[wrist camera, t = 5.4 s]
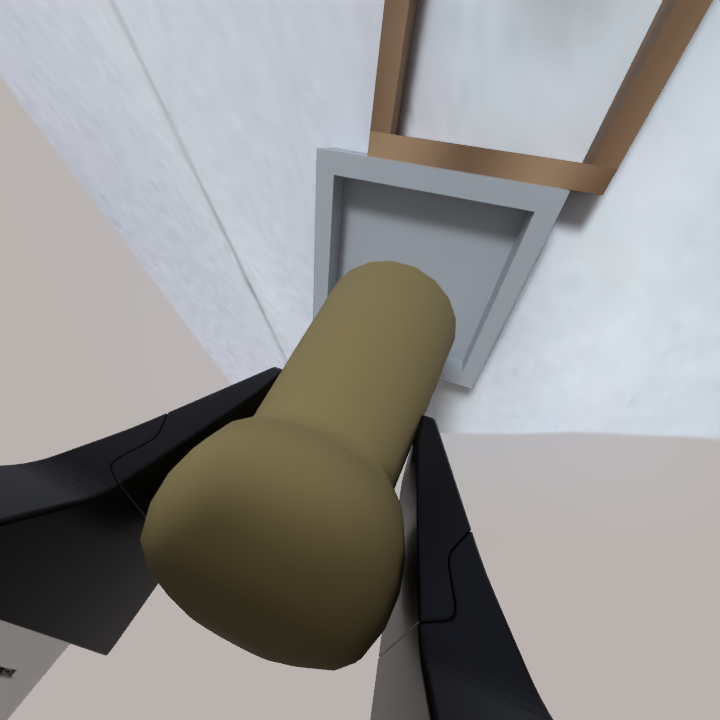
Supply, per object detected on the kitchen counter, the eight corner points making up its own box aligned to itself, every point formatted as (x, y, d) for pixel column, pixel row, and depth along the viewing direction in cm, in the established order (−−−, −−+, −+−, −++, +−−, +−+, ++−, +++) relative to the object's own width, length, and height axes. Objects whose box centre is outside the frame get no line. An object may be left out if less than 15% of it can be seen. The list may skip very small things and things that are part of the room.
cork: (394, 397, 16) (295, 688, 7) (305, 324, 15) (75, 560, 6) (488, 329, 12) (512, 778, 3) (377, 226, 11) (40, 490, 3)
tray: (559, 186, 14) (570, 190, 13) (471, 370, 22) (471, 388, 20) (333, 148, 16) (316, 148, 15) (324, 327, 24) (312, 341, 22)
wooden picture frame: (864, -313, 7) (938, -402, 6) (592, 191, 14) (602, 195, 13) (428, -270, 9) (421, -331, 8) (375, 155, 16) (367, 155, 15)
